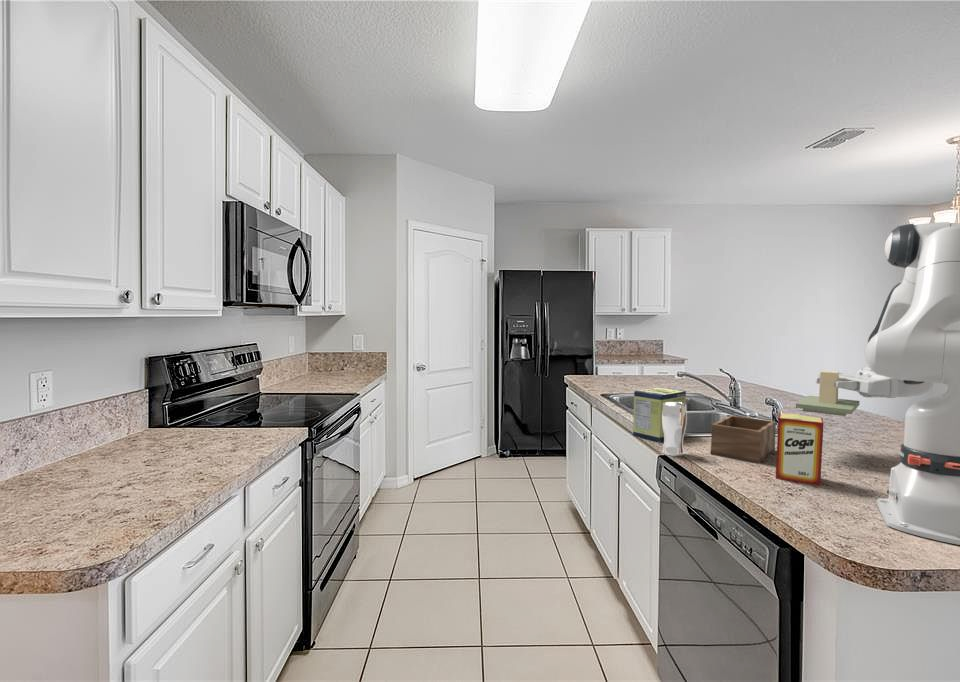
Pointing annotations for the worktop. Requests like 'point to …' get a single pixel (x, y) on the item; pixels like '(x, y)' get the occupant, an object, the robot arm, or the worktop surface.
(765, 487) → the worktop surface
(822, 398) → the lid
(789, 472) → the baking soda box
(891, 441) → the worktop surface
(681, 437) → the beer glass
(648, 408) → the protein box
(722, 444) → the open wooden box
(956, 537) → the robot arm
